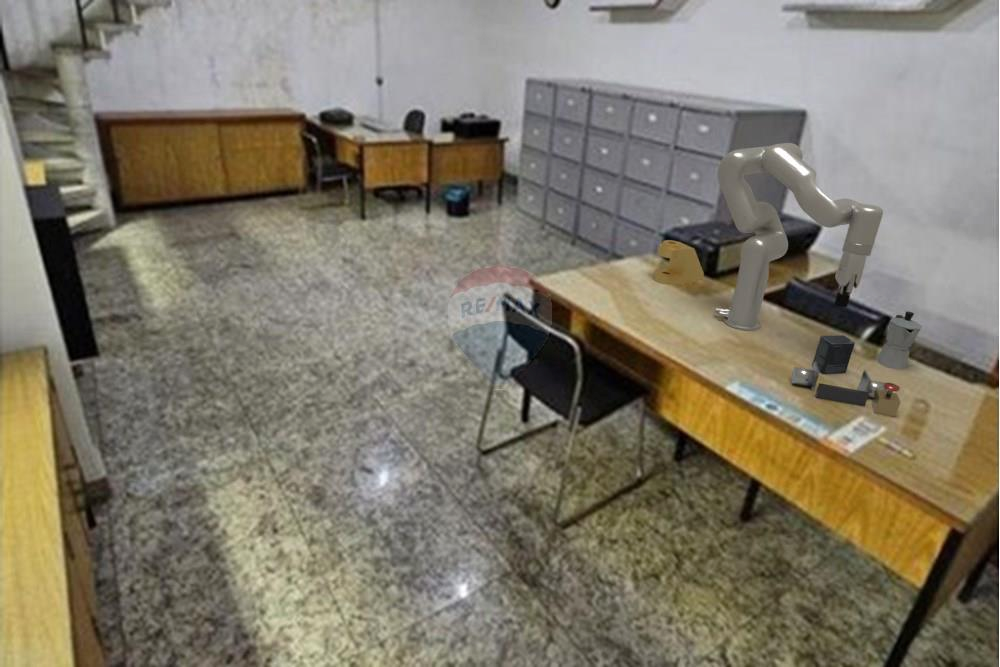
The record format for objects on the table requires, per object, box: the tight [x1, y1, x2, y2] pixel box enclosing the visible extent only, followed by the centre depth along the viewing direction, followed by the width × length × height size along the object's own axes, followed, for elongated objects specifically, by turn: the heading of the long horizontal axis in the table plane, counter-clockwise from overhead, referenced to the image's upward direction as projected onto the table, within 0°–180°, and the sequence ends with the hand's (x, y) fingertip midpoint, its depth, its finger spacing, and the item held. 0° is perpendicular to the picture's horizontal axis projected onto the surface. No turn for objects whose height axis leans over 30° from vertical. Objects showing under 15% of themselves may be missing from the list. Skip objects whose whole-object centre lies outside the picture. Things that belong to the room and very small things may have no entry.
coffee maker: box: [875, 311, 923, 371], centre depth 195 cm, size 15×9×18 cm, turn 163°
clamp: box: [653, 239, 705, 286], centre depth 254 cm, size 20×9×16 cm, turn 115°
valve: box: [870, 382, 902, 418], centre depth 171 cm, size 5×5×8 cm
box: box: [811, 334, 856, 375], centre depth 190 cm, size 8×6×11 cm
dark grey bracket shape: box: [790, 361, 888, 407], centre depth 178 cm, size 24×10×6 cm, turn 73°
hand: (840, 305), depth 193 cm, fingers closed
